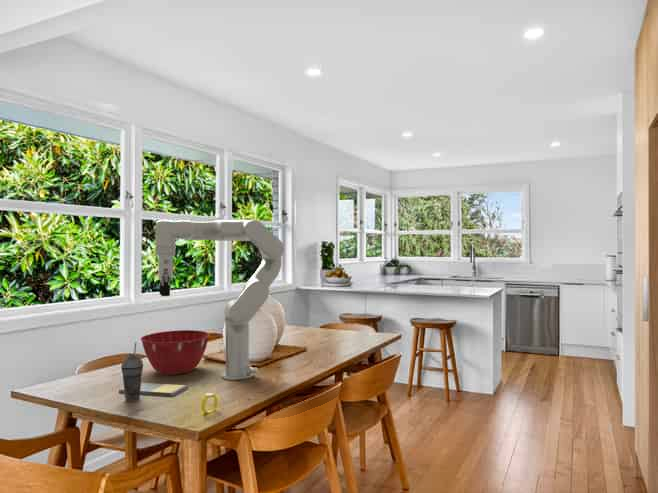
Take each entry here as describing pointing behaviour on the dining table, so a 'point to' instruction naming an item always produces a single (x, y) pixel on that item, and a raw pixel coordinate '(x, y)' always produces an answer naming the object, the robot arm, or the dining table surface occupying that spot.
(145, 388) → the grey yellow flat slab
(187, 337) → the mixing bowl
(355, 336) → the dining table surface
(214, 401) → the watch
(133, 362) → the beverage cup
